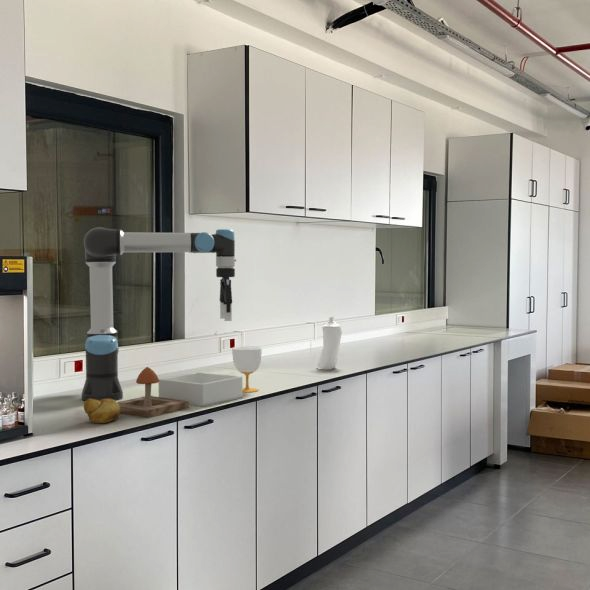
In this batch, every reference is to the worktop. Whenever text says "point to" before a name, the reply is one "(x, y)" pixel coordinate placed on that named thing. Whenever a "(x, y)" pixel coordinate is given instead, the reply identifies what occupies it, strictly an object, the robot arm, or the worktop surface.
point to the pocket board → (157, 408)
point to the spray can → (330, 345)
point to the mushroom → (147, 384)
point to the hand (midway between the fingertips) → (225, 319)
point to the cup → (247, 362)
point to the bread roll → (102, 410)
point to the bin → (201, 388)
